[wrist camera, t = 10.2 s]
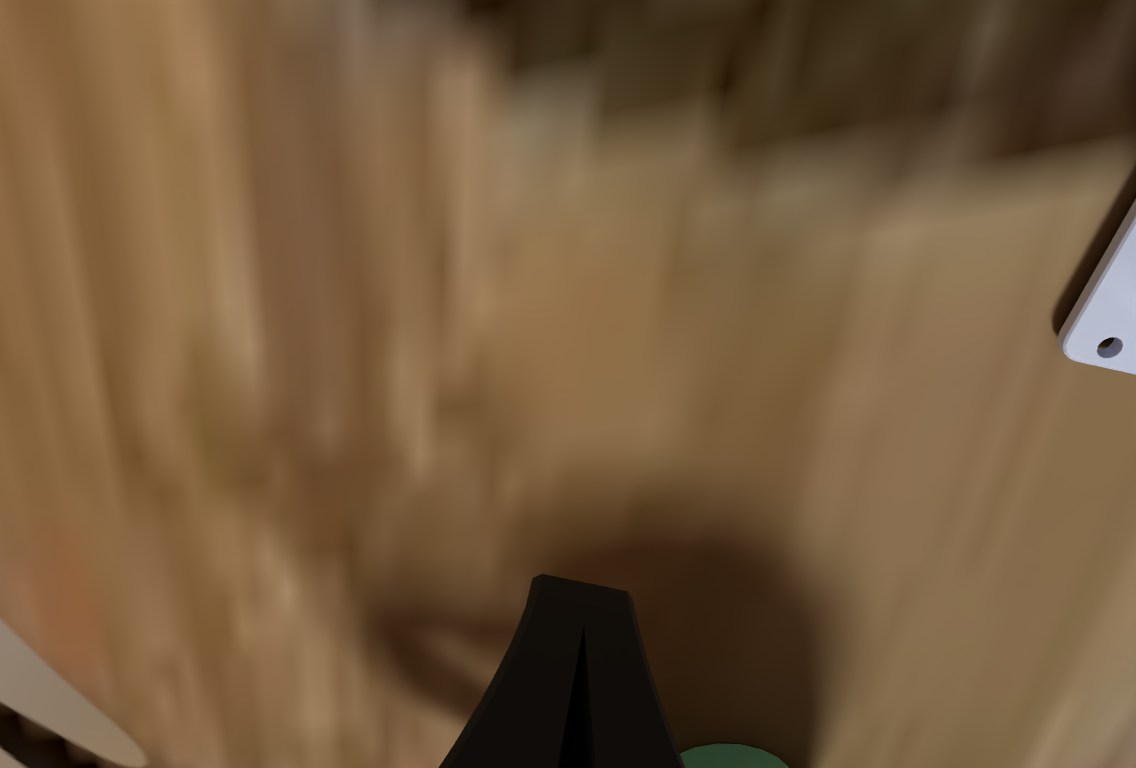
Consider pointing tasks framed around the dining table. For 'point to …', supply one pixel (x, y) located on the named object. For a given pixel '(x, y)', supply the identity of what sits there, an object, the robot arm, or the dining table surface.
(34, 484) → the dining table surface
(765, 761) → the mug
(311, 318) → the dining table surface
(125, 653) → the dining table surface
